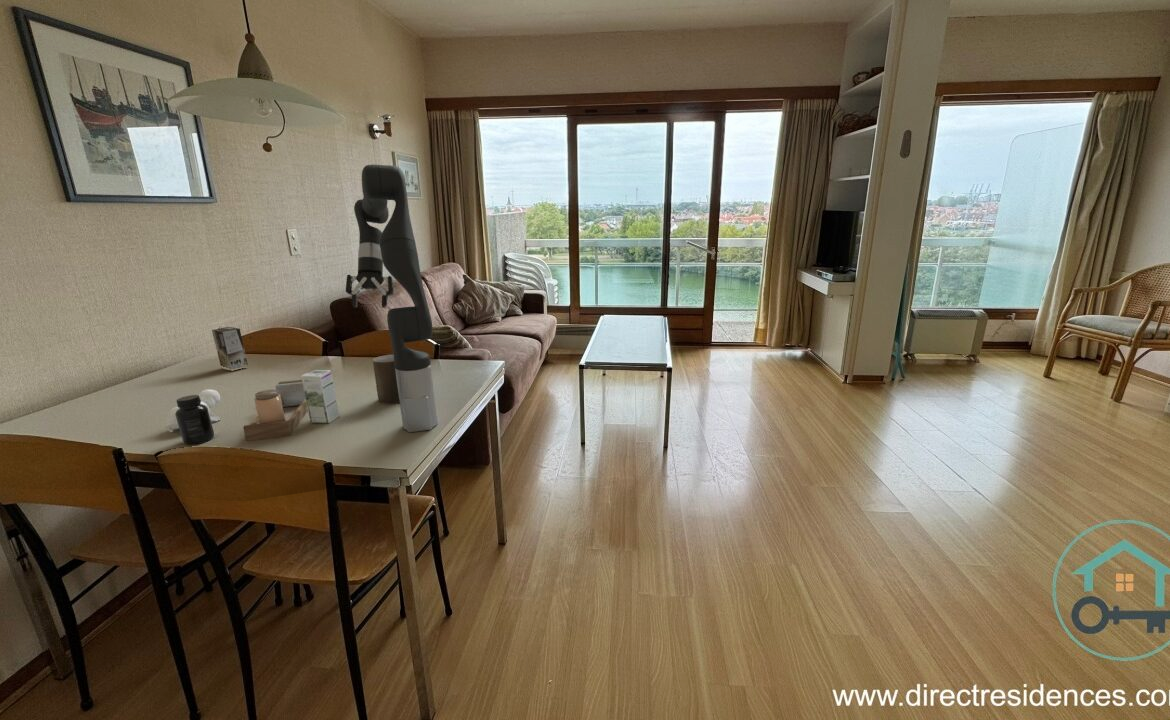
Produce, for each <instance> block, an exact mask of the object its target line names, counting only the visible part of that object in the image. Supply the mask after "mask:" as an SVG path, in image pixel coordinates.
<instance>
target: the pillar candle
mask: <svg viewBox="0 0 1170 720" xmlns="http://www.w3.org/2000/svg"><path fill="white" fill-rule="evenodd" d="M372 365H373V372H374V379H375V385H376V387H375V388H376V392H377V393H376V395H377V399H378V402H379V403H381V404H386V405H387V404H388V405H389V404H391V405H392V404H398V403H400V401H399V394H398V386H397V379H396V371H395V364H394V356H393V353H392V354H389V353H388V354H386V355H385V354H384V355H381V356H377V357H373V359H372Z"/></svg>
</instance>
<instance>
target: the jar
mask: <svg viewBox="0 0 1170 720" xmlns="http://www.w3.org/2000/svg"><path fill="white" fill-rule="evenodd" d="M253 400H254V406H255V409H256V414H257V416H258V419H259V423H260V424H262V423H271V422H280V421H286V417H285V411H284V407H283V406H282V401H281V397H280V394H278V391H277V390H276V389H265V390H261V391H258V392H256V393H255V394H254V399H253Z"/></svg>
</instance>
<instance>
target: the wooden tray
mask: <svg viewBox="0 0 1170 720" xmlns="http://www.w3.org/2000/svg"><path fill="white" fill-rule="evenodd" d="M295 382H302V379H295V380H293V379H292V380H285V381H284V380H283V381H279V382H278V383H277V384H285V383H295ZM307 413H308V407H307V402H306V398H305V399H304V401H303V402H302V403H301V405H298V407H297V408H296V410H295V412H294V413H292V415H291V416H290V418H289V419H288V420H285V421H280V422H271V423H262V424H260V423H259V419H258V415H257V416H256V417H255V419H253V420H252V421H251V422H250V423H249V424H246V425H243V427H242V428H243V432H244V436H245V441H247V442H249V441H255V440H257V441H258V440H266V439H274V438H281V437H288V436H289V437H290V436H292V434H293V433H294V432H295V430H296V429H297V428H298V426H299V424H301V423H300V422H302V420H303V418H304V417H305V416H306V414H307Z"/></svg>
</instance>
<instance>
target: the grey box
mask: <svg viewBox="0 0 1170 720" xmlns="http://www.w3.org/2000/svg"><path fill="white" fill-rule="evenodd" d="M274 387H275V390H277V391H278V394H280V397H281V401H282V406H283V408H284V407H285V408H286V407H292V406H293V407H294V406H300V405H301V403H302V402H303V401H304V399H305V398H306V397H305V392H304V388H303V383H302V382H295V383H285V384H278V383H277V384H276V385H275V386H274Z"/></svg>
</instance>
